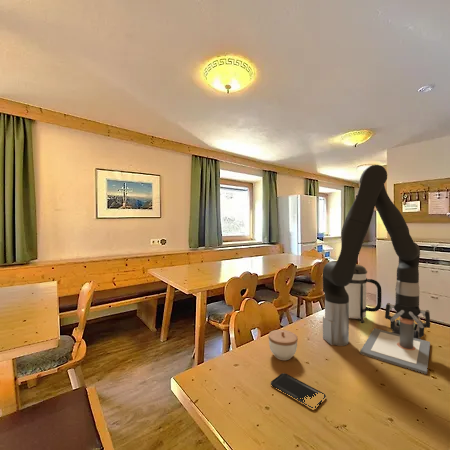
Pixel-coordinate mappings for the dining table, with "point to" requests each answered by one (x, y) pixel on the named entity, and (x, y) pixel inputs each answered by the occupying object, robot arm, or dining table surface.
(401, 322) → the grey cylindrical piece
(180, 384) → the dining table surface
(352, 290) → the coffee press
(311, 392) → the phone
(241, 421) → the dining table surface
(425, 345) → the drawing board
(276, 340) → the lidded jar
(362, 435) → the dining table surface
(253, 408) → the dining table surface
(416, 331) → the button housing
